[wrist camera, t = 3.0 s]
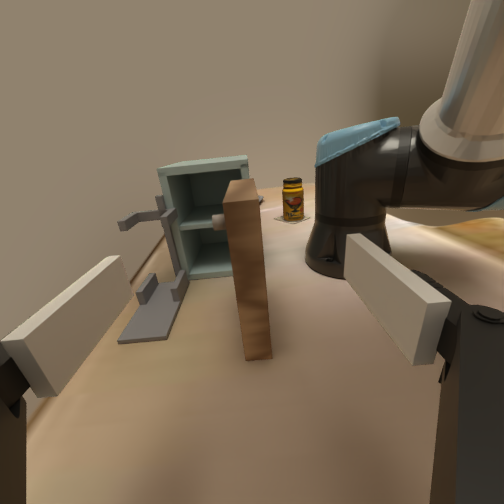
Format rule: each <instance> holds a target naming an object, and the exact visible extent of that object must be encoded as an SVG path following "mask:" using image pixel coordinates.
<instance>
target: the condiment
mask: <svg viewBox="0 0 504 504" xmlns="http://www.w3.org/2000/svg"><path fill="white" fill-rule="evenodd" d="M283 183H284V185H283V187H284V188H283V190H282V194H283V216H281V217H278V218H274V219H277V220H281V221H284V222H288V223H291V224H294V223H297V222H300V221H303V220H306V219H307V218H310V217H305V216H304V202H303V201H304V198H303V195H304V191H303V188H302V179H301V178H287V179H284V180H283ZM283 218H284V219H283Z"/></svg>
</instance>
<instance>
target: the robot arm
mask: <svg viewBox="0 0 504 504" xmlns="http://www.w3.org/2000/svg"><path fill="white" fill-rule="evenodd" d="M398 126H400V121H399V118H398V117H391V118H386V119H382V120H378V121H373V122H369V123H365V124H360V125H356V126H352V127H349V128H345V129H341V130H338V131H334V132H330V133H328V134H325V135H324V136H322V137H321V138H320V140H319V141H318V144H317V153H316V164H315V167H316V177H315V178H316V179H315V180H316V182H315V223H314V226H313V229H312V232H311V234H310V237H309V240H308V243H307V246H306V263H307V264H308V265H309V266H310V267H311V268H312V269H313V270H315V271H317V272H319V273H321V274H324V275H327V276H331V277H335V278H342V279H346V280H347V281H348V283H349V284H350V285H351V287H352V288H353V289H354V291H355V292H356V293H357V294H358V296H359V297H360V298H361V300H362V301H363V302H364V304H365V305H366V306H367V308H368V309H369V310H370V311H371V313H372V314H373V315H374V317H375V318H376V319H377V321H378V322H379V323H380V324H381V326H382V327H383V328H384V330H385V331H386V332H387V334H388V335H389V336H390V337H391V339H392V340H393V341H394V343H395V344H396V345H397V347H398V348H399V349H400V350H401V352H402V353H403V354H404V356H405V357H406V358H407V360H408V361H409V362H410V363H411V365H412V366H414V365H426V364H433V363H434V360H435V356H436V353H437V351H438V352H439V354H440V355H441V356H442V357H443V358H444V359H445V363H444V366H443V369H442V372H441V375H440V378H439V381H438V382H439V383H441V393H440V403H439V413H438V423H437V433H436V443H435V453H434V463H433V473H432V483H431V493H430V503H429V504H504V313H503V312H501V311H499V310H497V309H493V308H490V307H487V306H481V305H469V304H468V303H466V302H465V301H463V300H462V299H460V298H459V297H458V296H456V295H455V294H453V293H452V292H450V291H449V290H448V289H446V288H443V286H442V285H440V284H439V283H438V282H436V281H435V280H433V279H432V278H430V277H429V276H427V275H426V274H423V273H421V272H419V271H416V270H409V269H408V268H406V267H405V266H404V265H402V264H401V263H399V262H398V261H397V260H395V259H394V258H393V257H392V252H391V247H390V243H389V239H388V234H387V230H386V226H385V219H386V211H387V208H413V209H437V210H460V211H468V212H475V211H482V210H502V209H504V0H471V2H470V5H469V9H468V12H467V15H466V19H465V22H464V26H463V29H462V32H461V36H460V39H459V42H458V46H457V49H456V53H455V56H454V60H453V63H452V66H451V69H450V73H449V76H448V80H447V83H446V86H445V90H444V93H443V96H442V98H440V99H439V100H437V101H436V102H435V103H433V104H432V105H431V106H430V107H429V108H428V109H427V111H426V112H425V113H424V115H423V117H422V119H421V121H420V125H417V126H409V127H398ZM133 296H134V294H133V291H132V288H131V285H130V282H129V279H128V277H127V273H126V270H125V268H124V265H123V262H122V259H121V256H120V255H119V256H108V257H106V258H105V259H104V260H102V261H101V262H100V263H98V264H97V265H96V266H95V267H93V268H92V269H91V270H90V271H88V272H87V273H86V274H84V275H83V276H82V277H81V278H80V279H78V280H77V281H76V282H74V283H73V284H72V285H71V286H69V287H68V288H67V289H65V290H64V291H63V292H62V293H60V294H59V295H58V296H57V297H55V298H54V299H53V300H52V301H50V302H49V303H48V304H46V305H45V306H44V307H43V308H41V309H40V310H38V311H37V312H36V313H35V314H33V315H32V316H31V317H29V318H28V320H26V321H24V322H23V323H22V324H21V325H20V326H19V327H17V328H15V329H14V330H13V331H12V332H10V333H9V334H8V335H7V336H5V337H4V338H3V339H1V340H0V504H26V401H25V400H24V398H23V397H22V395H23V394H24V393H25V392H26V390H27V389H28V388H29V387H31V389H32V390H33V392H34V393H35V395H36V396H37V398H42V397H54V396H58V395H59V394H60V393H61V391H62V390H63V389H64V387H65V386H66V385H67V383H68V382H69V381H70V379H71V378H72V377H73V375H74V374H75V373H76V371H77V370H78V369H79V367H80V366H81V365H82V363H83V362H84V361H85V359H86V358H87V357H88V356H89V354H90V353H91V352H92V350H93V349H94V348H95V346H96V345H97V344H98V342H99V341H100V340H101V338H102V337H103V336H104V334H105V333H106V332H107V330H108V329H109V328H110V326H111V325H112V324H113V322H114V321H115V320H116V318H117V317H118V316H119V314H120V313H121V312H122V310H123V309H124V308H125V306H126V305H127V304H128V302H129V301H130V300H131V298H132V297H133Z"/></svg>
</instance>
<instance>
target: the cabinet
mask: <svg viewBox="0 0 504 504" xmlns="http://www.w3.org/2000/svg"><path fill="white" fill-rule="evenodd" d="M157 172H158V176H159V180H160V184H161V187H162V192H163V195H157V196H155V198H156V202H157V206H158V210H150V211H141V212H132V213H131V214H129V215H128V216H126V217H124V218H122V219H121V220H119V221H118V222H117V223H118V226H119V229H120V231H128V230H129V229H130V228H131V227H133V226H134V225H136V224H137V223H138V222H143V221H153V220H161V224H162V227H163V229H164V233H165V237H166V240H167V244H168V248H169V252H170V256H171V260H172V263H173V267H174V271H175V275H176V279H175V281H173V282H163V283H158V280H157V277H156V274H155V273H150V274H149V275H148V276H147V278H146V279H145V280H144V282H143V283H142V284H141V286H140V287H139V288H138V290H137V291H136V295H137V298H138V301H139V304H140V306H139V308H138V309H137V311H136V312H135V314H134V315H133V317H132V318H131V320H130V321H129V323H128V324H127V326H126V328H125V329H124V331H123V332H122V334H121V335H120V337H119V338H118V340H117V342H118V344H125V343H135V342H146V341H156V340H167V338H168V336H169V333H170V331H171V328H172V326H173V323H174V321H175V318H176V316H177V313H178V311H179V308H180V306H181V303H182V300H183V298H184V295H185V293H186V290H187V288H188V285H189V280H195V279H206V278H216V277H226V276H233V271H232V264H231V258H230V251H229V244H228V237H227V231H226V230H216V231H214V229H213V224H212V215H219V214H224V210H223V204H222V203H223V200H224V197H225V195H226V192H227V189H228V187H229V184H230V181H233V180H242V179H249V168H248V159H247V155H242V156H233V157H222V158H212V159H203V160H194V161H184V162H179V163H175V164H172V165H168V166H165V167H161V168H157Z"/></svg>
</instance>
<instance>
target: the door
mask: <svg viewBox="0 0 504 504" xmlns="http://www.w3.org/2000/svg"><path fill="white" fill-rule="evenodd" d="M222 204H223V210H224V214H219V215H212V224H213V229H214V231H216V230H226V231H227V237H228V244H229V251H230V258H231V264H232V271H233V278H234V285H235V291H236V298H237V305H238V312H239V318H240V325H241V332H242V339H243V346H244V352H245V359H246V361H251V360H262V359H272V349H271V337H270V325H269V313H268V301H267V290H266V278H265V266H264V254H263V242H262V230H261V218H260V206H259V198H258V194H257V190H256V186H255V182H254V179H253V178H252V179H242V180H233V181H230V184H229V187H228V189H227V192H226V195H225V197H224V200H223V203H222Z"/></svg>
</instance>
